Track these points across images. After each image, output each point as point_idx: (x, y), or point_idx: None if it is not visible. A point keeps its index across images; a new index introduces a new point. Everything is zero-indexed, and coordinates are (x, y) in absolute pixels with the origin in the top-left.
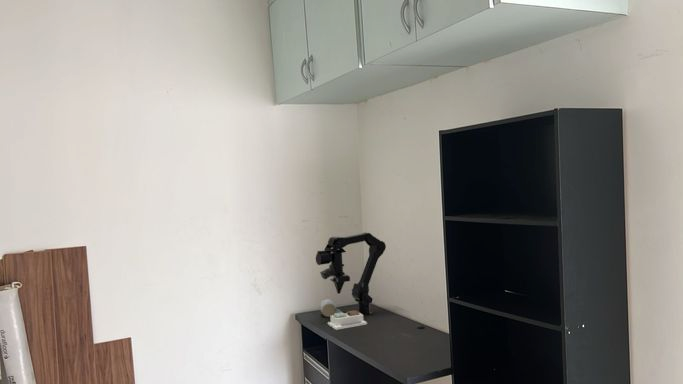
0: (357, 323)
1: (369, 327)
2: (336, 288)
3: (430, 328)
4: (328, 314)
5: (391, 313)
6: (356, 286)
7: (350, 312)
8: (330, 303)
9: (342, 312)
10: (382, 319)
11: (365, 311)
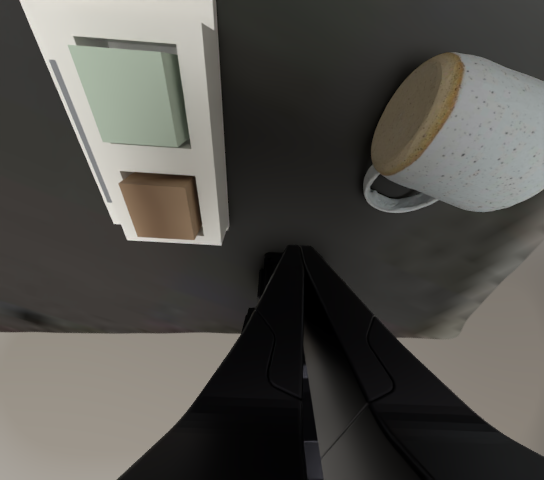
0: (99, 176)
1: (59, 204)
2: (315, 292)
3: (19, 328)
4: (391, 108)
5: (236, 327)
6: (309, 413)
7: (147, 193)
8: (429, 156)
9: (168, 144)
10: (175, 286)
11: (259, 281)
